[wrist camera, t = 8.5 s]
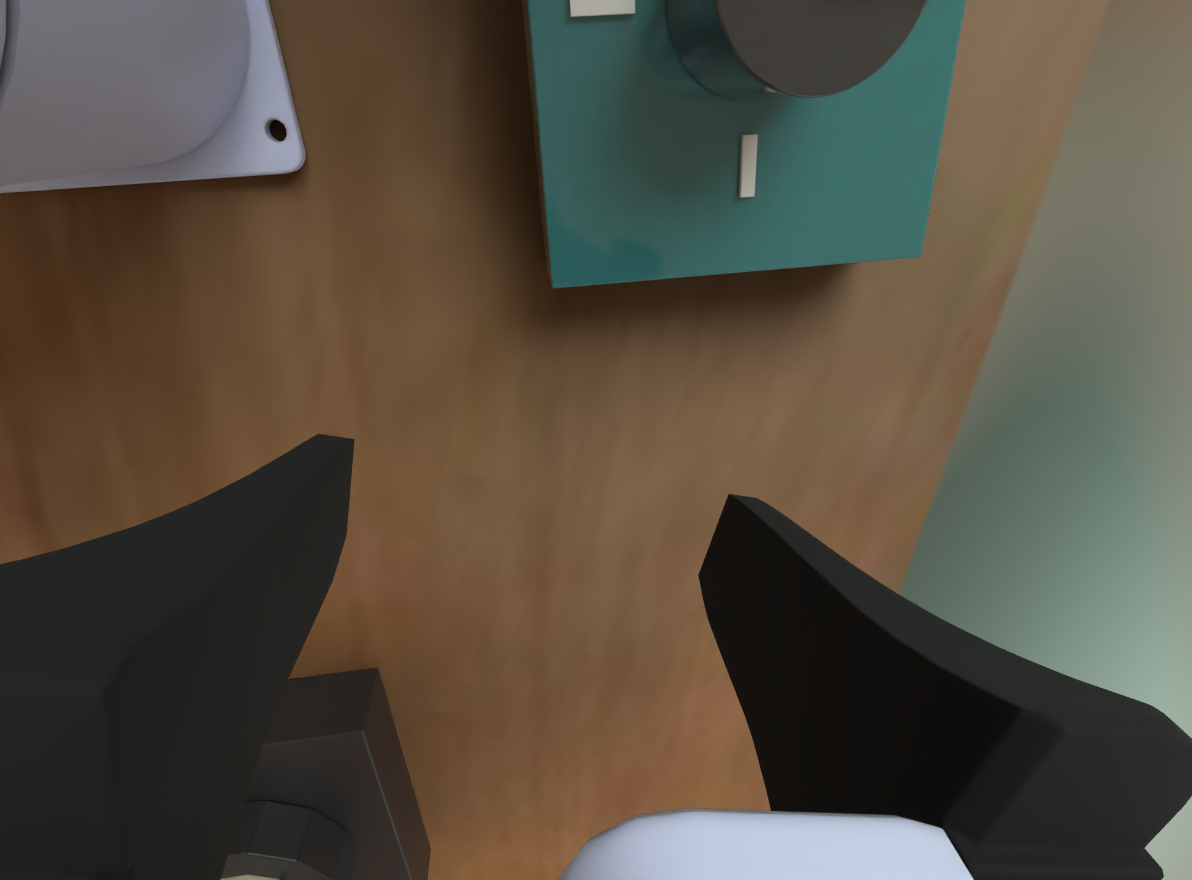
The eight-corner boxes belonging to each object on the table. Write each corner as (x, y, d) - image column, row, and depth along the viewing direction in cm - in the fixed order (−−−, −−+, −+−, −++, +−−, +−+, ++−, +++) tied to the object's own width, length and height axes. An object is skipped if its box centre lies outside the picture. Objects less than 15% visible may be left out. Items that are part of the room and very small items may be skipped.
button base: (111, 702, 24) (23, 832, 20) (378, 666, 25) (351, 783, 21) (214, 882, 30) (163, 1014, 26) (431, 848, 31) (418, 971, 26)
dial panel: (494, -309, 14) (490, -418, 11) (940, -312, 14) (1044, -414, 12) (545, 264, 19) (552, 290, 16) (866, 238, 20) (925, 258, 17)
